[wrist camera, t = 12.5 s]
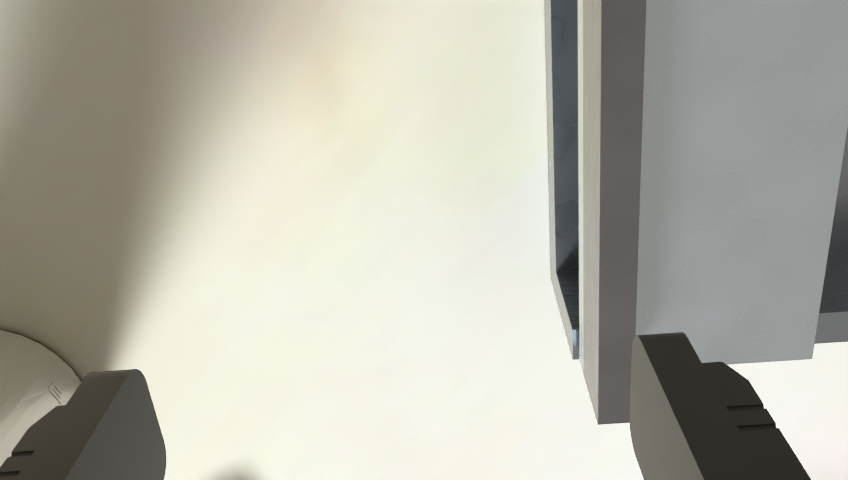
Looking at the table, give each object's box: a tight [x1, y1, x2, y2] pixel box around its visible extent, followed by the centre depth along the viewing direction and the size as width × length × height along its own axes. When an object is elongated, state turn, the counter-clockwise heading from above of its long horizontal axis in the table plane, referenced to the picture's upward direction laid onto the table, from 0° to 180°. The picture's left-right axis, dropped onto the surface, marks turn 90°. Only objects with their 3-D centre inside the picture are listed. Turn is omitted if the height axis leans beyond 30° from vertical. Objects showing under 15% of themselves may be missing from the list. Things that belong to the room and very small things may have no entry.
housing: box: [544, 0, 848, 359], centre depth 29 cm, size 18×22×7 cm
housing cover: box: [578, 0, 848, 424], centre depth 24 cm, size 9×21×4 cm, turn 5°
